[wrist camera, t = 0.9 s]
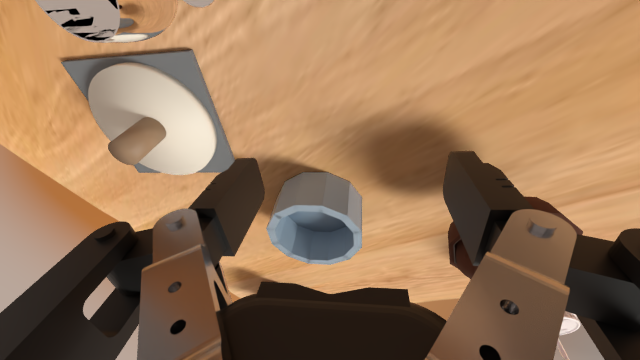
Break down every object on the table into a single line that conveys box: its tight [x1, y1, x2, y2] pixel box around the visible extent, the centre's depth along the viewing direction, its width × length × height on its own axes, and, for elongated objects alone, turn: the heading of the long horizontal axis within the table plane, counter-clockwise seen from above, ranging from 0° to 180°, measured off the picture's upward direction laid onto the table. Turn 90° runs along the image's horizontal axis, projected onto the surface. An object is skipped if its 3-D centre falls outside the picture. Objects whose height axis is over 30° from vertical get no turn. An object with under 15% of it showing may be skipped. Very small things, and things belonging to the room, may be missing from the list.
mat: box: [61, 50, 235, 173], centre depth 31 cm, size 15×15×1 cm
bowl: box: [266, 172, 362, 265], centre depth 35 cm, size 12×12×6 cm
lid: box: [88, 62, 217, 175], centre depth 29 cm, size 14×14×6 cm
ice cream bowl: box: [448, 197, 583, 279], centre depth 26 cm, size 11×11×15 cm
